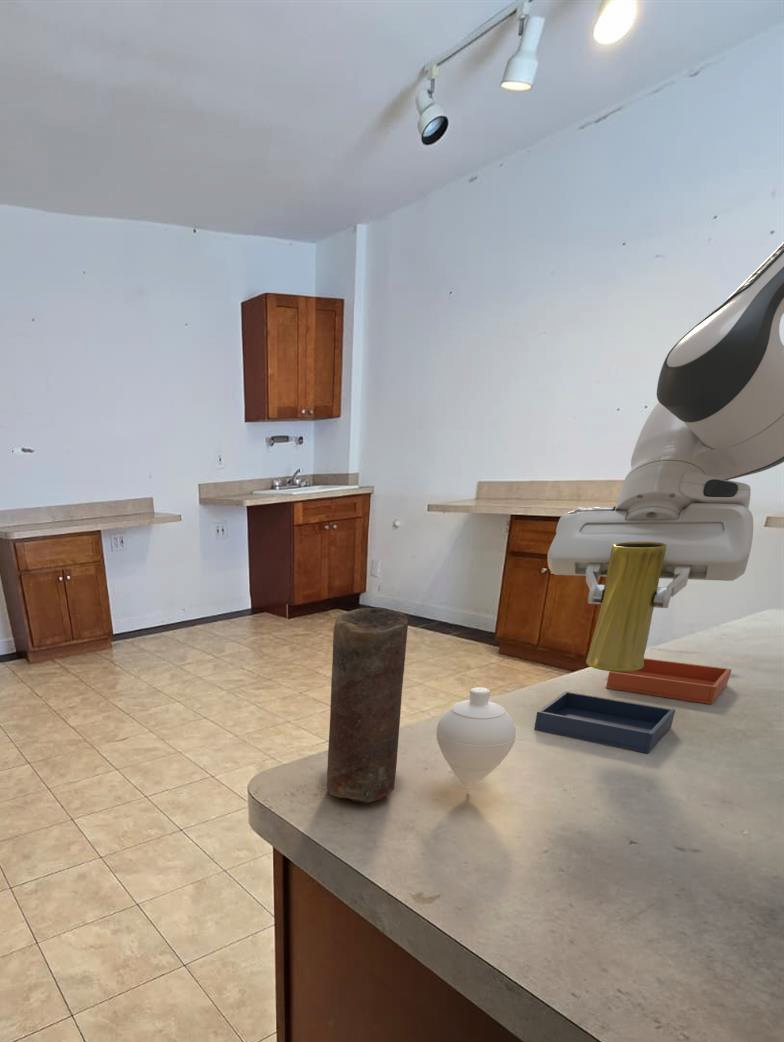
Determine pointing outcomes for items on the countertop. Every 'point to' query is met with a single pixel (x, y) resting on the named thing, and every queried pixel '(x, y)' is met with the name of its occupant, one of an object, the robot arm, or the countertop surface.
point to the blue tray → (605, 721)
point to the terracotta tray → (673, 680)
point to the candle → (366, 703)
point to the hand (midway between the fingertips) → (627, 603)
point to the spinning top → (475, 737)
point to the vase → (626, 607)
